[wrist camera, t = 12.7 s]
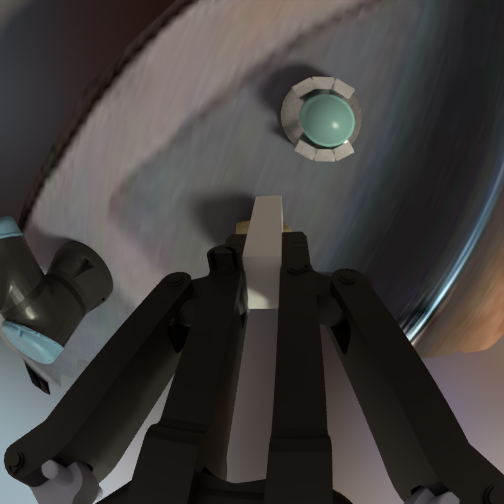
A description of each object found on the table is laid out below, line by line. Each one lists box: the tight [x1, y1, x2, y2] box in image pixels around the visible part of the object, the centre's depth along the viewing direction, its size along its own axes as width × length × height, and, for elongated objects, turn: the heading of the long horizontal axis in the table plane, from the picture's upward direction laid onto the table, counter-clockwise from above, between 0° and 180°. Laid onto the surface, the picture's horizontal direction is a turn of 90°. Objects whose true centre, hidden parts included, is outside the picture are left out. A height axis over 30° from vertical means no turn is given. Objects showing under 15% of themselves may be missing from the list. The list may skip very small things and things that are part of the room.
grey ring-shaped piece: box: [281, 77, 362, 161], centre depth 31 cm, size 10×10×4 cm
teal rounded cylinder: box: [299, 94, 355, 147], centre depth 30 cm, size 6×6×6 cm
